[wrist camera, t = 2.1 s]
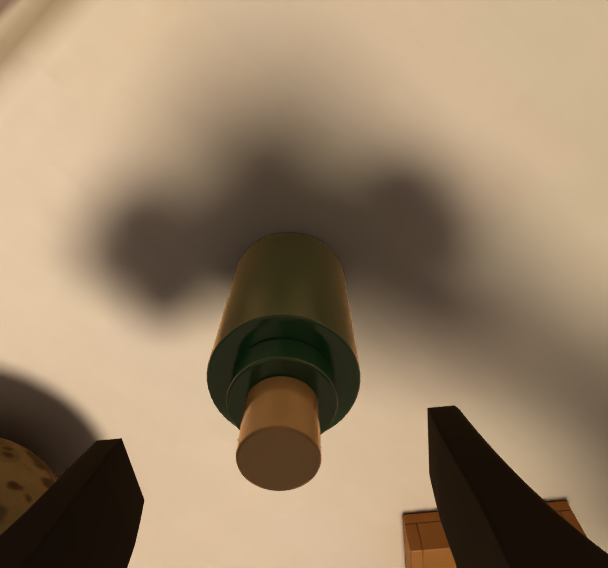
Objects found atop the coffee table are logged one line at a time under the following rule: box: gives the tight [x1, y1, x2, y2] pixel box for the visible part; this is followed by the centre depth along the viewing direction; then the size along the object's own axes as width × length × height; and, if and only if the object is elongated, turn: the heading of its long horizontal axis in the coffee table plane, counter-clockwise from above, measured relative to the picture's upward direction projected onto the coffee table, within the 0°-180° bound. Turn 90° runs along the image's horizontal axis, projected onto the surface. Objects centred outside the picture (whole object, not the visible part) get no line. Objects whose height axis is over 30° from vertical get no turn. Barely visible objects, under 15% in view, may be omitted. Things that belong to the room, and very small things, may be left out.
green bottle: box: [207, 233, 360, 491], centre depth 16 cm, size 4×4×10 cm
